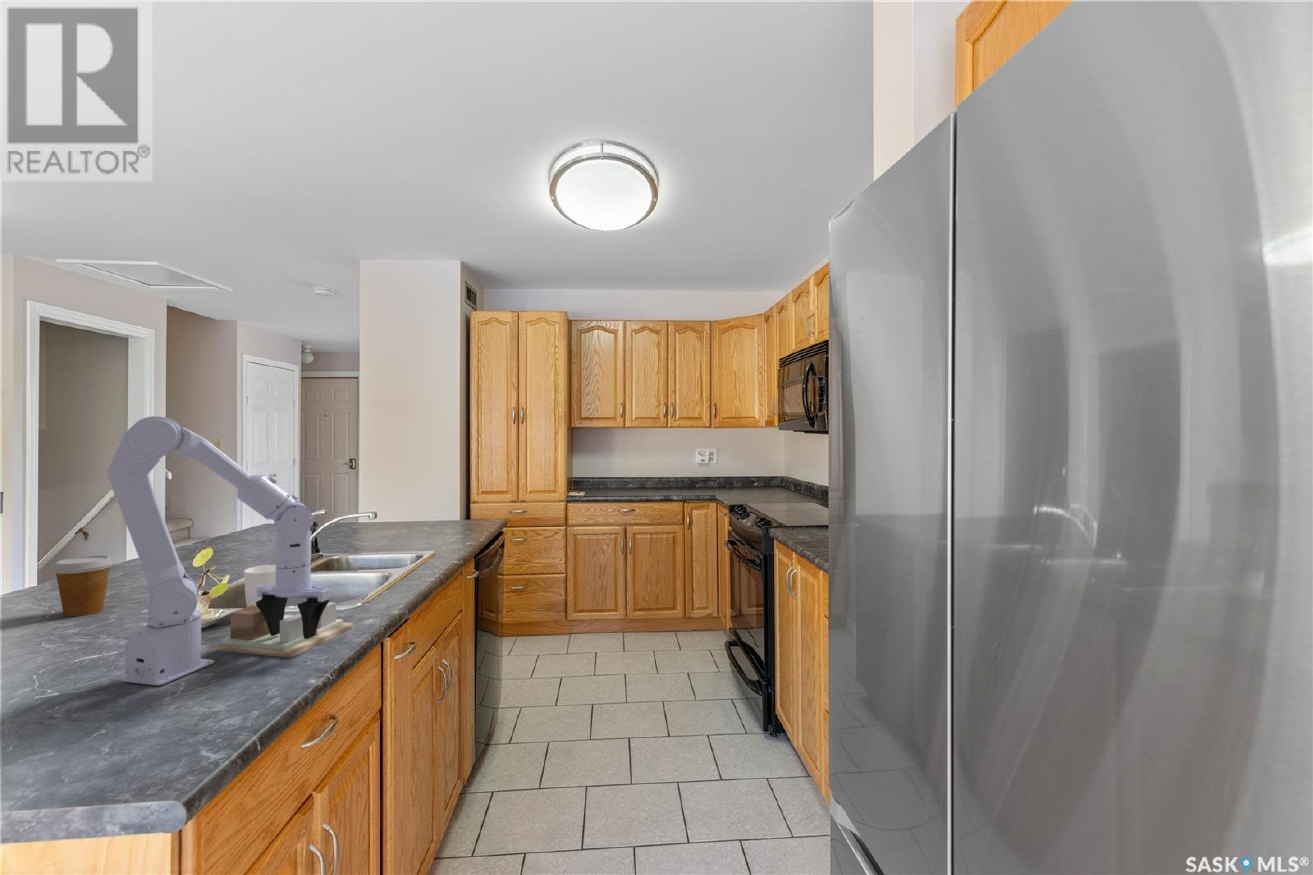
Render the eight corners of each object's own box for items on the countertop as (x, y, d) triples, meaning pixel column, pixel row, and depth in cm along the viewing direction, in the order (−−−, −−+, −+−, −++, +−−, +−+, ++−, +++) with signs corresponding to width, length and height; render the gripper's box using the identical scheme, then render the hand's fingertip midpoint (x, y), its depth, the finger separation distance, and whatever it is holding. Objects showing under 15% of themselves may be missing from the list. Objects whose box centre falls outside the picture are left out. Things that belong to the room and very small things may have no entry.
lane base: (291, 657, 103) (291, 652, 103) (218, 650, 106) (218, 645, 106) (353, 628, 119) (353, 623, 119) (288, 622, 122) (288, 617, 122)
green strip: (284, 649, 104) (285, 624, 104) (221, 643, 107) (221, 618, 107) (313, 636, 111) (313, 612, 111) (253, 631, 114) (253, 607, 114)
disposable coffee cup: (66, 608, 130) (66, 557, 129) (120, 603, 134) (120, 553, 134) (42, 621, 121) (43, 566, 121) (101, 615, 125) (101, 562, 125)
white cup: (293, 607, 133) (293, 565, 132) (267, 618, 125) (267, 573, 125) (262, 606, 133) (263, 564, 133) (234, 616, 126) (235, 572, 125)
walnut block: (252, 640, 107) (252, 614, 107) (230, 638, 108) (230, 612, 108) (275, 631, 112) (275, 606, 112) (253, 629, 113) (253, 604, 113)
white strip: (318, 634, 112) (318, 610, 112) (258, 629, 115) (258, 606, 115) (343, 623, 119) (343, 600, 119) (286, 618, 122) (286, 596, 121)
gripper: (341, 562, 111) (341, 631, 111) (278, 558, 113) (278, 625, 113) (313, 571, 104) (313, 644, 104) (247, 566, 106) (246, 638, 106)
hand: (292, 635), depth 108 cm, fingers open, 7 cm apart
